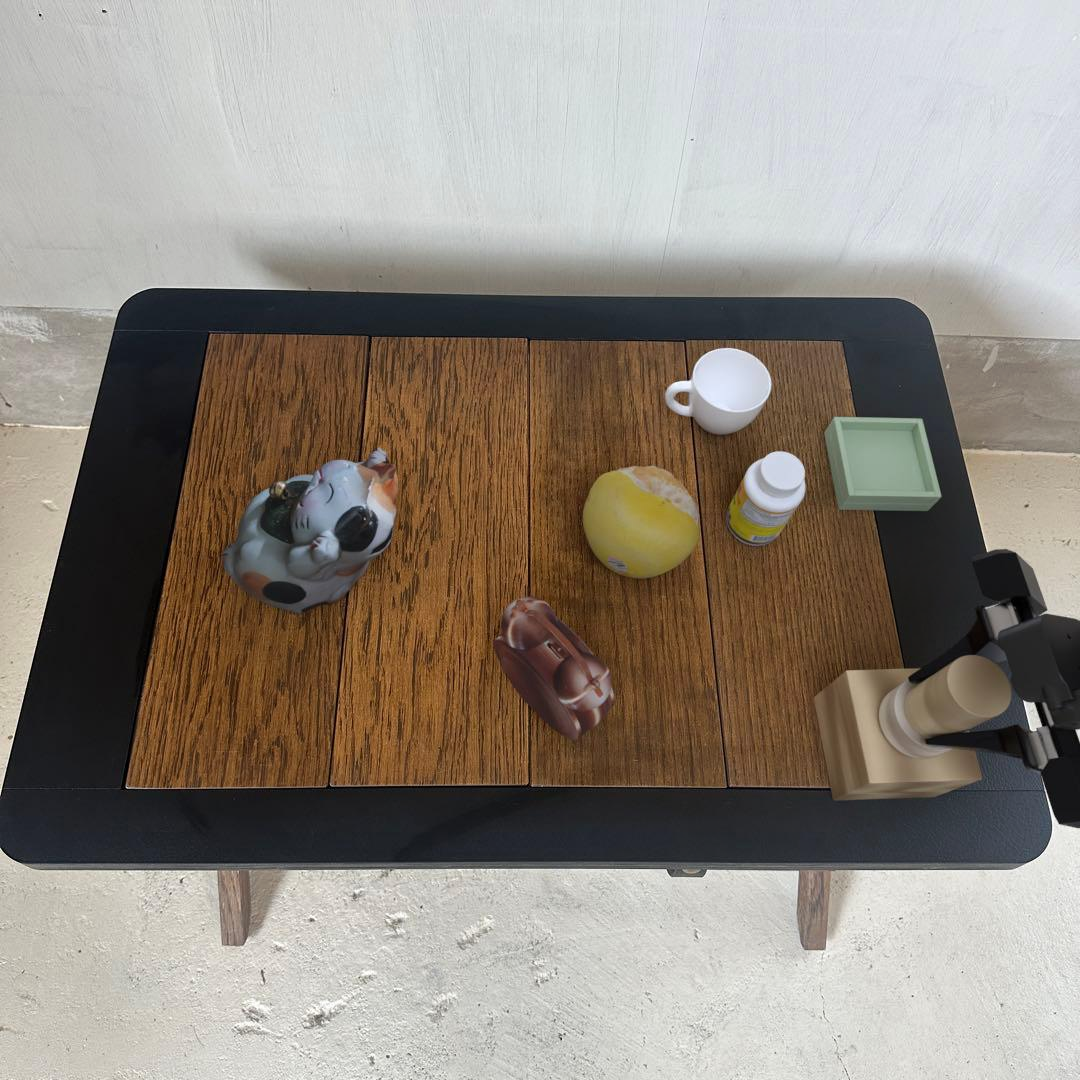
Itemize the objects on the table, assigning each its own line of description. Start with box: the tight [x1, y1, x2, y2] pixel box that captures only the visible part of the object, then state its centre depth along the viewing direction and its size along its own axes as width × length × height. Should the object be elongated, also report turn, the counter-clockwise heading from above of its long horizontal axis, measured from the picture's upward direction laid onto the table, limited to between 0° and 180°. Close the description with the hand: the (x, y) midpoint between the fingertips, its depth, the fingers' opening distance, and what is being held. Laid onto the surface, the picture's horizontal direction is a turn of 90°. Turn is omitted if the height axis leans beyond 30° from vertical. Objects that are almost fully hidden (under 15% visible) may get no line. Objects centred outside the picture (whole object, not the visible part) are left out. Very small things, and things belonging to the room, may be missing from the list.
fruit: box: [582, 465, 701, 579], centre depth 78 cm, size 10×11×10 cm
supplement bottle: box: [726, 450, 806, 547], centre depth 79 cm, size 6×6×10 cm
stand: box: [813, 667, 983, 802], centre depth 71 cm, size 9×9×8 cm
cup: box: [664, 347, 772, 436], centre depth 86 cm, size 8×10×7 cm
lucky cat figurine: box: [221, 447, 399, 615], centre depth 75 cm, size 15×12×14 cm
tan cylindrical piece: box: [879, 655, 1013, 759], centre depth 62 cm, size 6×6×10 cm
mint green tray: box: [823, 416, 942, 512], centre depth 86 cm, size 9×9×3 cm
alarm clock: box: [492, 596, 616, 741], centre depth 68 cm, size 11×5×15 cm, turn 42°
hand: (918, 710), depth 64 cm, fingers closed on tan cylindrical piece, 4 cm apart
